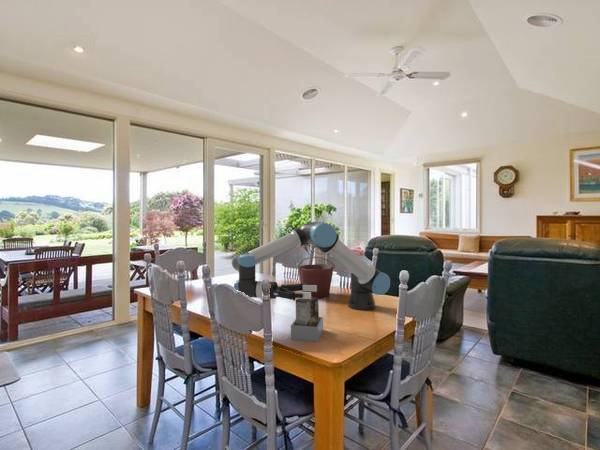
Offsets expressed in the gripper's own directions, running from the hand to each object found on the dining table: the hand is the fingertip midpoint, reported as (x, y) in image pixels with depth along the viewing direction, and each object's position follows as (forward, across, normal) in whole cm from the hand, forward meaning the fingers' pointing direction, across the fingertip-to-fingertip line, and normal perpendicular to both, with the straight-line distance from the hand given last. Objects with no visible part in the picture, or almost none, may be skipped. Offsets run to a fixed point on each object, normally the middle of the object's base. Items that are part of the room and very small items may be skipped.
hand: (314, 291), depth 154 cm
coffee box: (-3, 0, -19) cm, 20 cm away
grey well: (-3, 0, -19) cm, 19 cm away
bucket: (-12, -72, -20) cm, 76 cm away
